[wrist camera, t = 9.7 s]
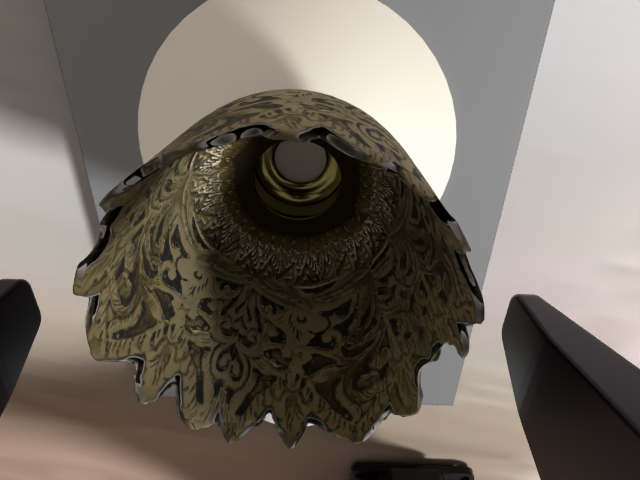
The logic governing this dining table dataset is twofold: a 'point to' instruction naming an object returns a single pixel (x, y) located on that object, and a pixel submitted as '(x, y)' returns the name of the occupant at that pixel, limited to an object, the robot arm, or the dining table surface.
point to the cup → (279, 273)
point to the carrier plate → (320, 76)
